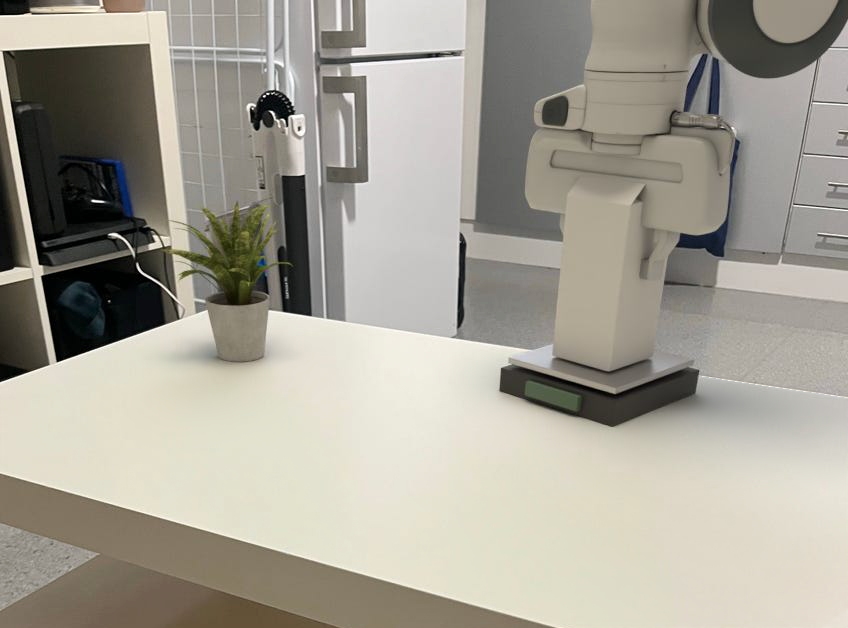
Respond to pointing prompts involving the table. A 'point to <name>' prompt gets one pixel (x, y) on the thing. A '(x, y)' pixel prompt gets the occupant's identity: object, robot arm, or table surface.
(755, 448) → the table surface
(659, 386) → the scale
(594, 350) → the milk carton
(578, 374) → the scale platform
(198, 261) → the house plant
